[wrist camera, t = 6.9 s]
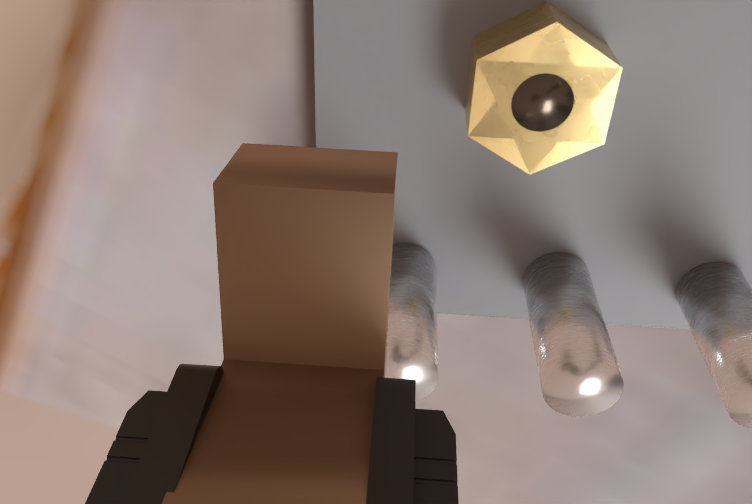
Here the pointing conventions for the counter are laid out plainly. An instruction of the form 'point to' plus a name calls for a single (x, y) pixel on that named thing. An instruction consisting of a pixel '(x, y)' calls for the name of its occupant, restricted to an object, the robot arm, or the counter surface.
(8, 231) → the counter surface
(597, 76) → the nut
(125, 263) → the counter surface
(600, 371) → the spacers
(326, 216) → the wooden stepped block
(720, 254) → the board
